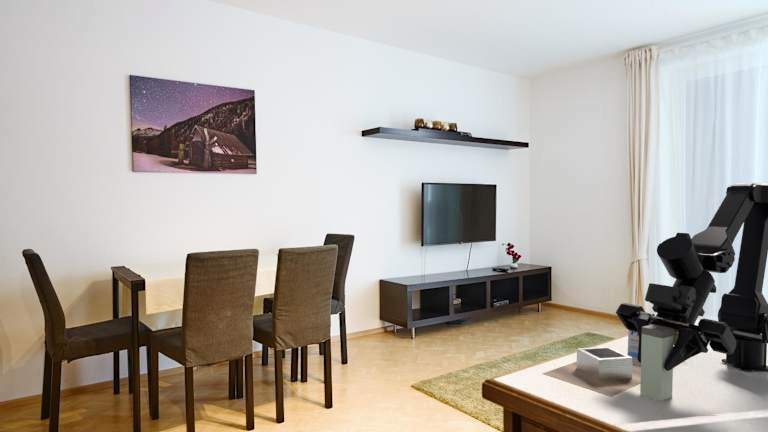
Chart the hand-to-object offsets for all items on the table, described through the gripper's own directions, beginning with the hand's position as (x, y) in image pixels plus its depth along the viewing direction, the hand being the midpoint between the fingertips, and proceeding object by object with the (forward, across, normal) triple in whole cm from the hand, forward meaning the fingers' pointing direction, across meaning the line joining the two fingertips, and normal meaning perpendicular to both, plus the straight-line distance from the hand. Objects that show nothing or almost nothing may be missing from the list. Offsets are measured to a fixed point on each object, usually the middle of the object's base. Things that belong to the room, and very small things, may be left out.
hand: (652, 365), depth 86 cm
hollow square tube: (+1, -12, +6) cm, 13 cm away
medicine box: (-11, -13, +20) cm, 26 cm away
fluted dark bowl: (-18, -15, +27) cm, 36 cm away
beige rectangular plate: (+2, -12, +7) cm, 14 cm away
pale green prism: (+4, 0, +6) cm, 7 cm away
